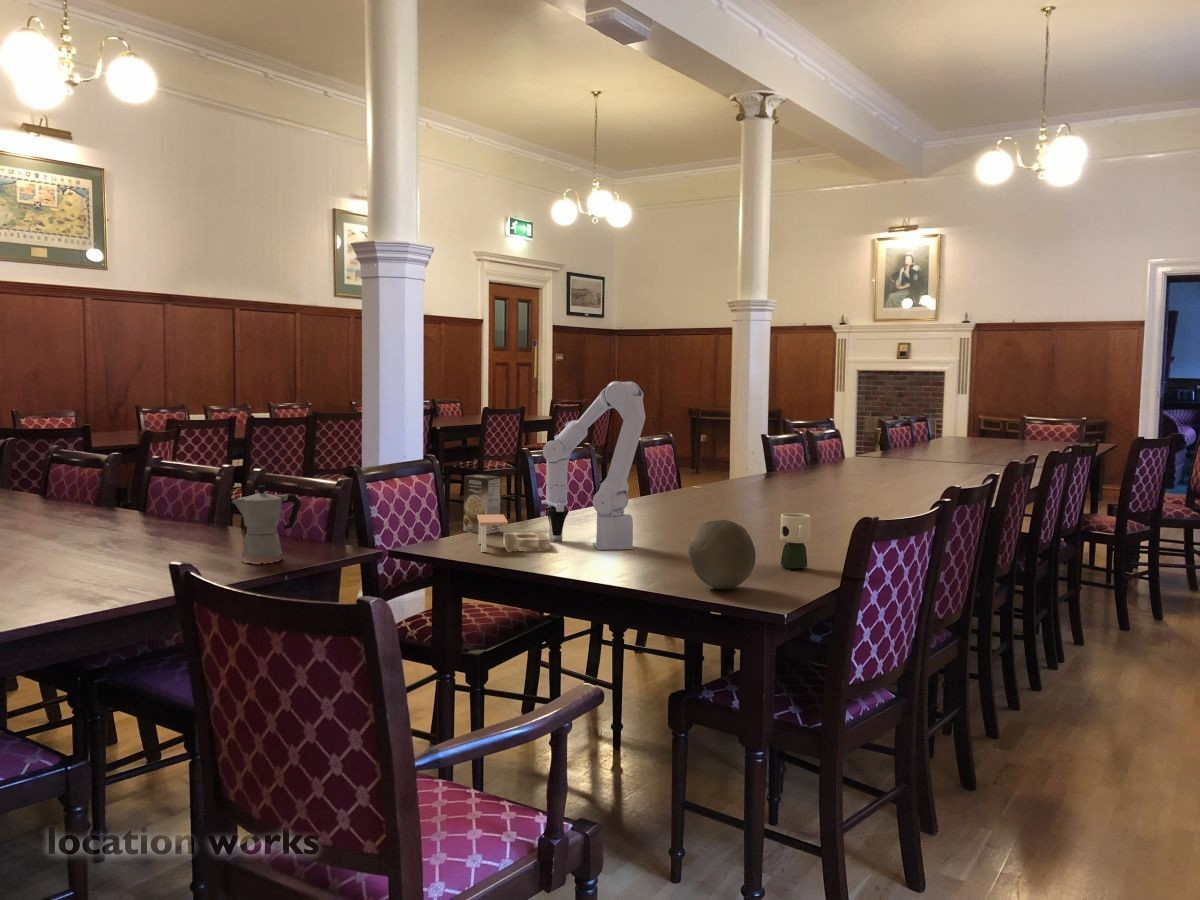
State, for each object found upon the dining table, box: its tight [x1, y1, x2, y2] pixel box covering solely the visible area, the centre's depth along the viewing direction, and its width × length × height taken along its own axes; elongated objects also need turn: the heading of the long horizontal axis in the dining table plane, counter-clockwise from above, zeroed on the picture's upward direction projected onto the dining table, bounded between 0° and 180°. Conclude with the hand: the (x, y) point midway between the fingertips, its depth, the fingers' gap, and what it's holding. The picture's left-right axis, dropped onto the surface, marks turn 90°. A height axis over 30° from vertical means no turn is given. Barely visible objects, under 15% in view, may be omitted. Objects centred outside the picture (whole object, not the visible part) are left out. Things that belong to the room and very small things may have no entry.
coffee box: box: [462, 473, 502, 535], centre depth 262 cm, size 9×6×16 cm
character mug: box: [779, 512, 812, 570], centre depth 219 cm, size 11×7×13 cm, turn 3°
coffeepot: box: [231, 484, 302, 558], centre depth 216 cm, size 15×9×18 cm, turn 115°
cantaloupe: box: [688, 519, 757, 590], centre depth 195 cm, size 14×14×15 cm
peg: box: [548, 520, 564, 543], centre depth 248 cm, size 4×4×8 cm
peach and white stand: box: [477, 513, 509, 553], centre depth 237 cm, size 7×13×8 cm, turn 11°
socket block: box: [503, 531, 551, 553], centre depth 239 cm, size 11×11×3 cm
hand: (555, 534), depth 249 cm, fingers closed on peg, 4 cm apart
